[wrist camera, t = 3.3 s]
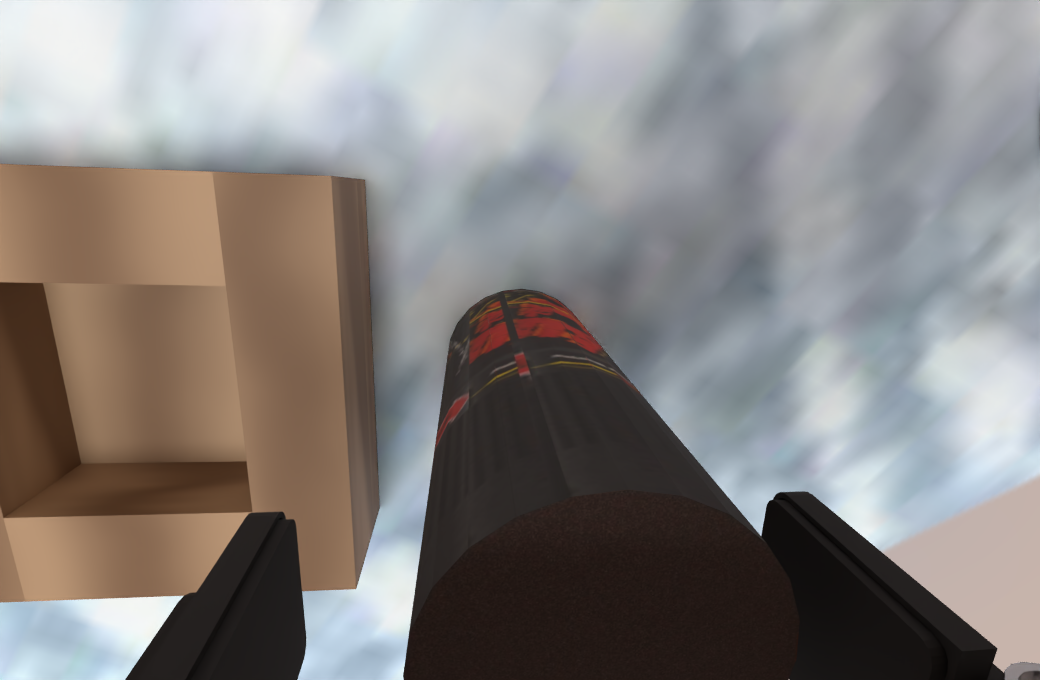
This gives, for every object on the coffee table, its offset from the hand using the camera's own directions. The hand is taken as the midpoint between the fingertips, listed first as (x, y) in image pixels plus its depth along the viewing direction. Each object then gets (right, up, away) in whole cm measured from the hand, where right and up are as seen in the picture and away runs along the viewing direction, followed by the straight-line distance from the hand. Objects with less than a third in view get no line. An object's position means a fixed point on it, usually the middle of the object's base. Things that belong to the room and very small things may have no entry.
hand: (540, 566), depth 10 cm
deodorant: (0, +4, +12) cm, 13 cm away
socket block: (-13, +4, +11) cm, 17 cm away
